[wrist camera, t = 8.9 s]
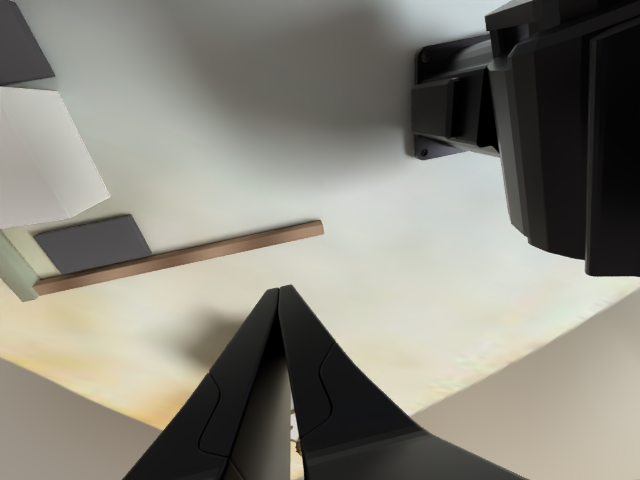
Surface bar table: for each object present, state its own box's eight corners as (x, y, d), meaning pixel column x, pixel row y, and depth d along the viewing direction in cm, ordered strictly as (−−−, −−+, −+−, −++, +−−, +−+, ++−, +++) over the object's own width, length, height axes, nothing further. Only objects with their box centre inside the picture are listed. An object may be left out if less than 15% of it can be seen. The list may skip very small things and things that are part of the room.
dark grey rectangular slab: (15, 3, 12) (6, -1, 12) (151, 252, 19) (148, 255, 18) (-118, 25, 12) (-133, 21, 12) (67, 270, 19) (62, 274, 18)
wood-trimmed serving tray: (267, -71, 13) (267, -87, 12) (322, 229, 20) (325, 236, 19) (-208, 4, 12) (-258, -6, 10) (37, 291, 19) (22, 302, 18)
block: (60, 91, 14) (-11, 85, 11) (112, 196, 17) (69, 218, 14) (-60, 105, 14) (-175, 103, 10) (13, 210, 17) (-58, 237, 13)
